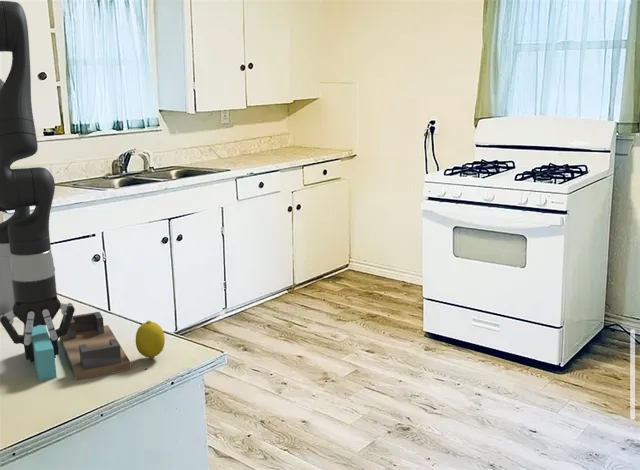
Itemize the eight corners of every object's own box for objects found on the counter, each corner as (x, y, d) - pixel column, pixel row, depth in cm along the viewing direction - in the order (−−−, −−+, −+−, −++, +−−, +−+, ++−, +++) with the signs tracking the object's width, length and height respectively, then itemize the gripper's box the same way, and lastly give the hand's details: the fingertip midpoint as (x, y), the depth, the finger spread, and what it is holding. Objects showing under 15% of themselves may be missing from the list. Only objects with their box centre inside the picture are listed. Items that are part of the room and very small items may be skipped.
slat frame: (59, 339, 144) (57, 317, 143) (108, 331, 149) (106, 309, 148) (75, 380, 125) (73, 354, 124) (131, 369, 130) (129, 344, 129)
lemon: (151, 367, 131) (148, 327, 129) (130, 360, 134) (128, 322, 132) (171, 357, 135) (169, 319, 134) (151, 351, 138) (149, 313, 136)
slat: (30, 351, 139) (27, 323, 138) (46, 348, 141) (43, 321, 139) (39, 381, 125) (35, 351, 124) (56, 378, 127) (53, 348, 125)
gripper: (69, 264, 135) (77, 345, 139) (-9, 274, 129) (1, 359, 133) (75, 273, 129) (83, 358, 133) (-7, 284, 122) (4, 373, 126)
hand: (42, 358), depth 133 cm, fingers open, 3 cm apart
